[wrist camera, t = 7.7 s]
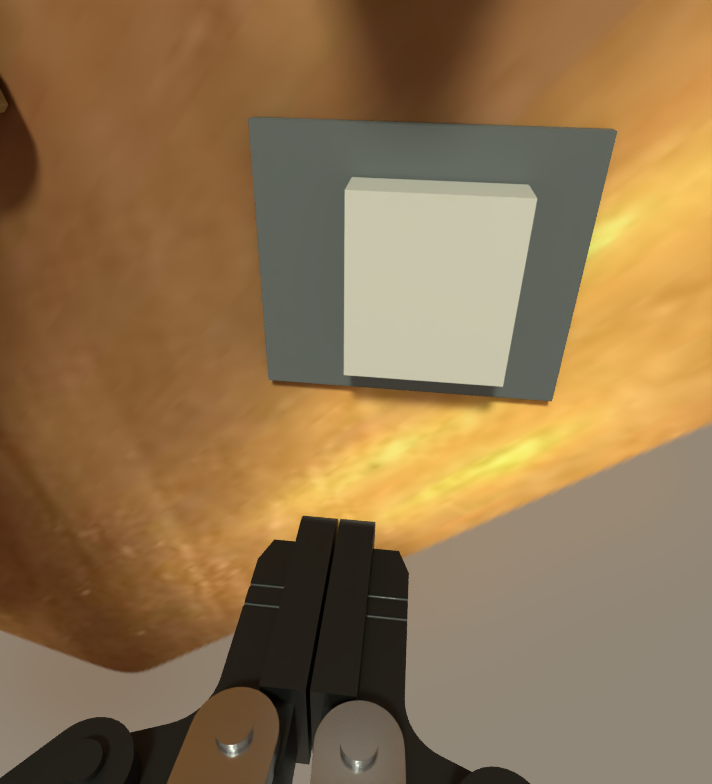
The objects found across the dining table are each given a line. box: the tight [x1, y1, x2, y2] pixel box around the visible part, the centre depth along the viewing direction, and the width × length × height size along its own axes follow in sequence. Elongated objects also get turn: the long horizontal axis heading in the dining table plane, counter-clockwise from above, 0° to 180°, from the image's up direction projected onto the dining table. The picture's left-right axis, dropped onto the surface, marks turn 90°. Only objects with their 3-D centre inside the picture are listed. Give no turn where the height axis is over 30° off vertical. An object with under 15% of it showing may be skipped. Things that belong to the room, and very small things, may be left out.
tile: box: [344, 177, 537, 387], centre depth 24 cm, size 2×8×7 cm
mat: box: [248, 117, 617, 401], centre depth 25 cm, size 14×12×1 cm
